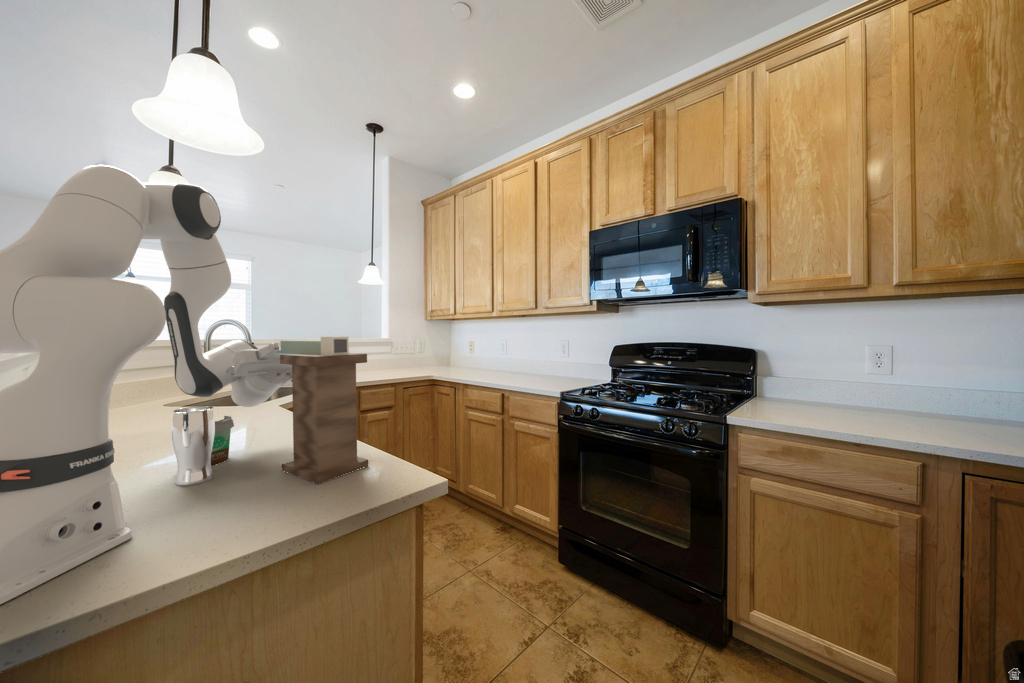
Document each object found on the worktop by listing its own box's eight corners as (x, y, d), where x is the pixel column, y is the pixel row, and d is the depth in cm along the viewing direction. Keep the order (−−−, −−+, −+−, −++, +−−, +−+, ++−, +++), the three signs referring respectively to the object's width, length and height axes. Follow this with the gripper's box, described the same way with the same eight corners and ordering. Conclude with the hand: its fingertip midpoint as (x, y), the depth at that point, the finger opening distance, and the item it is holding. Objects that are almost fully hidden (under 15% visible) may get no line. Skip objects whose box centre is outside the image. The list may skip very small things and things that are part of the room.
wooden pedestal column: (282, 471, 84) (280, 354, 83) (332, 456, 94) (331, 352, 93) (317, 484, 76) (315, 356, 76) (368, 466, 86) (367, 353, 86)
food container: (197, 473, 82) (196, 428, 82) (175, 471, 84) (174, 427, 83) (247, 455, 95) (246, 416, 94) (227, 454, 96) (226, 415, 96)
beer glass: (217, 471, 83) (215, 404, 83) (214, 481, 78) (213, 409, 77) (175, 478, 80) (174, 408, 79) (169, 489, 74) (167, 414, 73)
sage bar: (278, 353, 91) (278, 336, 91) (295, 352, 95) (295, 336, 95) (332, 355, 79) (332, 336, 79) (349, 354, 83) (349, 336, 83)
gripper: (220, 363, 89) (242, 333, 83) (305, 358, 107) (329, 333, 100) (226, 386, 88) (249, 359, 81) (312, 378, 105) (337, 354, 99)
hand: (294, 345), depth 91 cm, fingers open, 7 cm apart
